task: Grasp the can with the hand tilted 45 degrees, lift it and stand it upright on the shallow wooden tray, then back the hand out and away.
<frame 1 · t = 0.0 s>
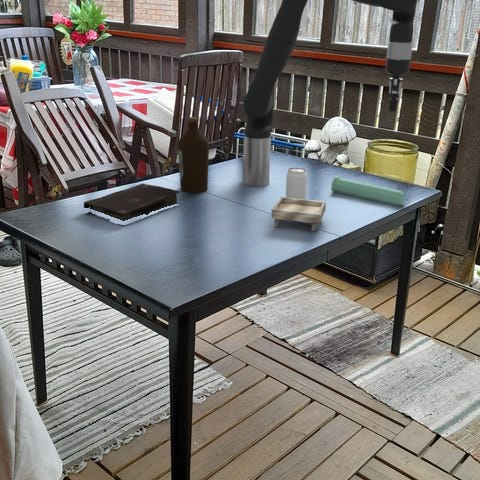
hand: (392, 109, 193), 29 cm above the table, tool pointing down, fingers open, 8 cm apart
shallow wooden tray: (298, 223, 177), on the table
can: (295, 206, 192), on the table
olive oil: (193, 190, 207), on the table
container: (367, 199, 201), on the table
diary: (134, 211, 187), on the table
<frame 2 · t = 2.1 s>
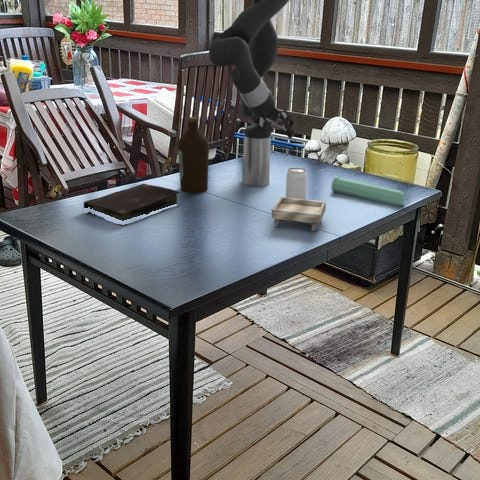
hand: (281, 134, 179), 24 cm above the table, tool tilted 40°, fingers open, 8 cm apart
nothing on the table moved.
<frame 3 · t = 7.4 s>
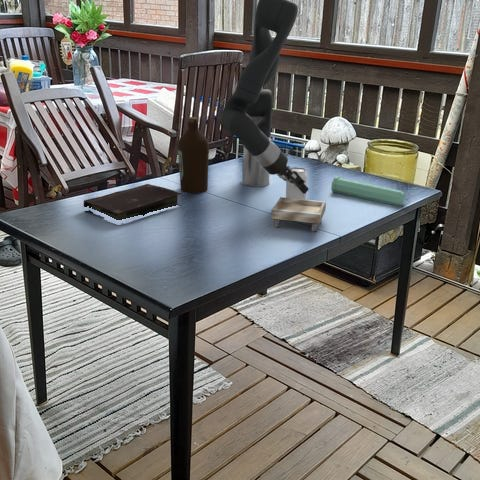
hand: (300, 188, 191), 6 cm above the table, tool tilted 45°, fingers closed on can, 6 cm apart
can: (295, 206, 192), on the table, touching gripper
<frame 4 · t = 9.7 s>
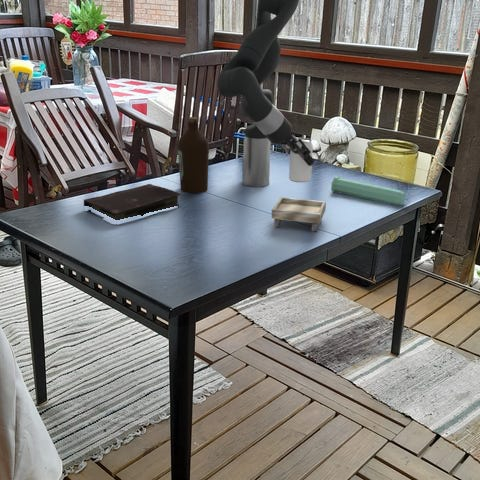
hand: (305, 160, 175), 18 cm above the table, tool tilted 45°, fingers closed on can, 6 cm apart
can: (299, 180, 177), point 12 cm above the table, touching gripper
when the fingers open (12 cm above the table, at t = 12.1 s): can drops 2 cm, resting on shallow wooden tray.
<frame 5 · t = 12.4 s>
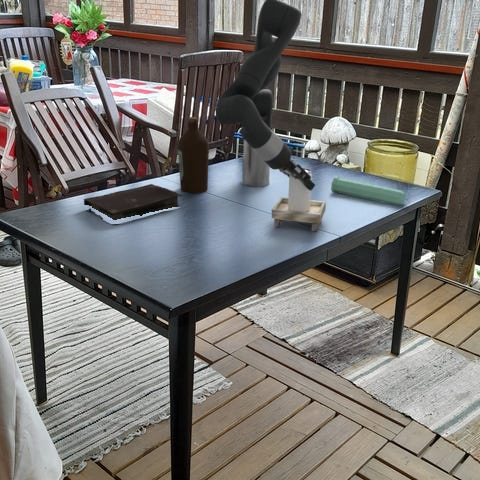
hand: (304, 184, 173), 12 cm above the table, tool tilted 45°, fingers open, 8 cm apart
can: (298, 210, 175), point 4 cm above the table, touching shallow wooden tray
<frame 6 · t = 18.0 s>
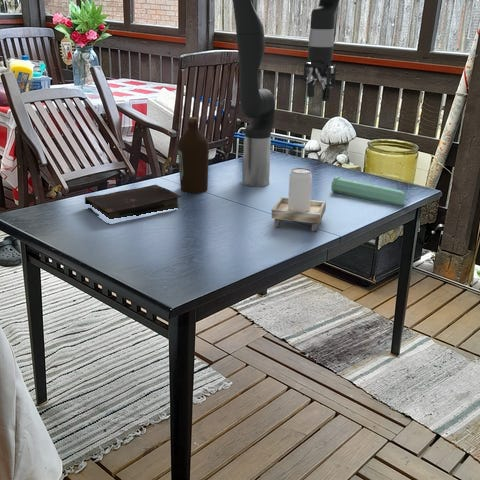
hand: (317, 98, 186), 33 cm above the table, tool pointing down, fingers open, 8 cm apart
at the end: can inside the target area on the shallow wooden tray (0.3 cm from its centre), point 4.3 cm above the shallow wooden tray's base; can tilted 0°; the gripper is holding nothing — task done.
